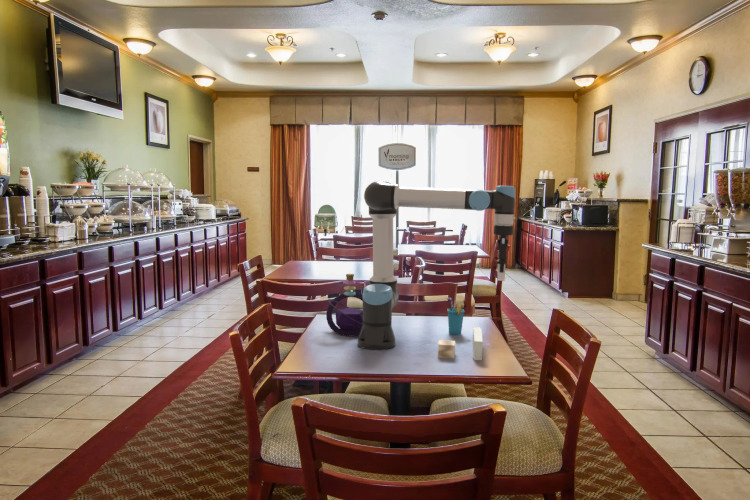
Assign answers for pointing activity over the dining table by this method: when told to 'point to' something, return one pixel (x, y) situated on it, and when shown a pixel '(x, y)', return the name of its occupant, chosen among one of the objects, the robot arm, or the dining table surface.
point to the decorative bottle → (346, 312)
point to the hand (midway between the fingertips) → (500, 277)
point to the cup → (455, 319)
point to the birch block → (446, 349)
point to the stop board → (477, 343)
